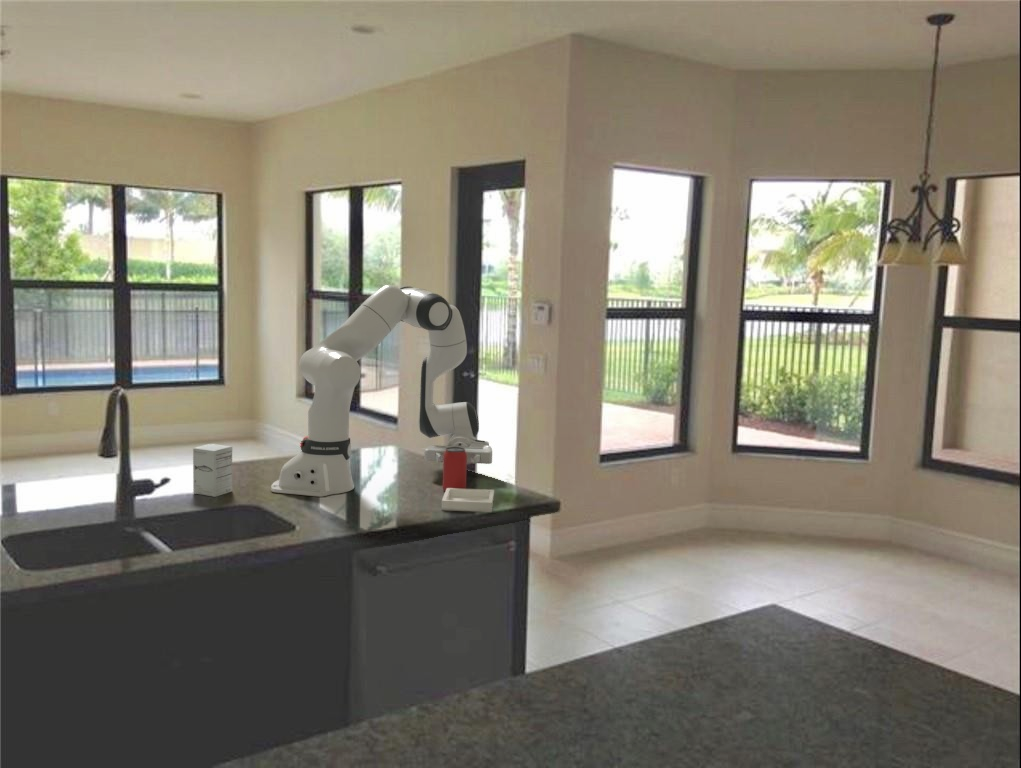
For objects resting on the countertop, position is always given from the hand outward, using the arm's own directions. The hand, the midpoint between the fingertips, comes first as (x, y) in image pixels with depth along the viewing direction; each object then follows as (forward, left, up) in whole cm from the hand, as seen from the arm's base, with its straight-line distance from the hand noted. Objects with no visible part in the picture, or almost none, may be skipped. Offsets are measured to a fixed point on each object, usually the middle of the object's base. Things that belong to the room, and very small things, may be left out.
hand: (456, 460), depth 243 cm
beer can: (0, -7, -7) cm, 10 cm away
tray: (+5, -21, -7) cm, 22 cm away
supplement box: (-64, -19, -7) cm, 67 cm away
